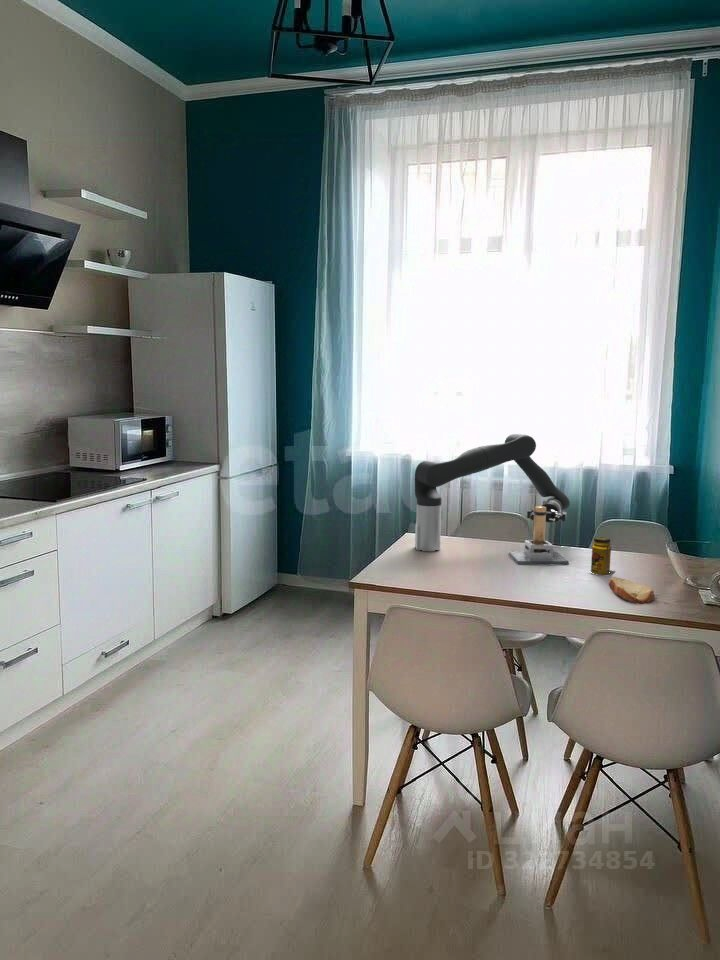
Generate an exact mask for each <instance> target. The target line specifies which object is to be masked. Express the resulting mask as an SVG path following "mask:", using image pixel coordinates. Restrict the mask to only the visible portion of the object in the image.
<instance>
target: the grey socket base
mask: <svg viewBox="0 0 720 960" xmlns="http://www.w3.org/2000/svg"><path fill="white" fill-rule="evenodd" d="M523 548H524V550H522V551H520V550H519V551H518V550H517V551H514V550H512V551H510V550H509V551H508V556H509V557H510V558H511V557H512V558H513V559H514V560H513V559H512V560H513V561H514V562H515V561H516V562H515V563H516V565H550V564H570V563H569V562H570V561H569V560H568V559H567V558H565V557H564V556H563V555H562V554H561V553H560V552H558V551H554V545H553V544H552V543H551V542H549V541H548V540H547V539H545V541H544V544H533V539H525V540H524V547H523ZM534 549H544V552H534Z"/></svg>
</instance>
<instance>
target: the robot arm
mask: <svg viewBox="0 0 720 960" xmlns="http://www.w3.org/2000/svg"><path fill="white" fill-rule="evenodd" d="M536 448H537V443H536V440H535V439H534V438H533V437H532V436H530V435H529V434H521V433H520V434H519V433H513V434H509V435H508V436H507V437H506V438H505V440H504V443H499V444H487V445H482V446H477V447H474V448H471V449H467V450H466V451H464V452H462V453H461V454H460V455H459V456H458V457H456V458H455V459H451V460H447V461H443V462H434V461H430V460H424V461H423V460H422V461H421V462H419V463H418V464H417V465H416V468H415V470H414V471H415V472H414V494H415V498H416V520H415V521H416V522H415V525H414V526H415V529H414V530H415V531H414V532H415V534H414V535H415V536H414V548H415V547H416V548H415V550H416V551H420V550H422V551H421V552H436V551H435V550H438V551H440V550H441V534H442V533H441V531H442V530H441V528H442V497H441V495H440V494H439V493H438V490H437V488H438V487H442V486H443V485H446V484H448V483H450V482H451V481H455V480H457V479H460V478H463V477H467V476H470V475H473V474H477V473H480V472H483V471H485V470H489V469H491V468H494V467H497V466H500V465H503V464H504V463H508V462H511V461H514V462H515V463H516V464H517V466H518V467H519V468H520V469H521V470H522V471H523V473H524V474H525V475H526V477H527V478H528V479H529V480H530V482H531V484H532V485H533V486H534V488H535V490H536V492H537V493H538V495H539V496H540V497H542V498H546V499H544V500H542V505H541V506H544V507H546V511H547V514H546V523H558V522H561V521H562V522H566V520H567V511H565V510H567V509H568V508H569V507H570V504H571V502H570V499H569V497H568V496H567V495H566V493H564V492H563V491H562V490H560V489H559V488H558V487H557V486H556V485H555V484H554V482H553V481H552V478H551V477H550V476H549V475H548V473H547V472H546V470H544V469H543V468H542V467H541V466H540V465H539V464H538V463H537V462H535V461H534V459H532V458H531V456H532V455H533V454H534V452H535V451H536ZM534 510H535V509H533V508H529V510H527V511H526V518H527V519H529V520H531V521H534ZM439 549H440V550H439Z"/></svg>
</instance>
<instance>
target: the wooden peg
mask: <svg viewBox="0 0 720 960" xmlns="http://www.w3.org/2000/svg"><path fill="white" fill-rule="evenodd" d="M533 510H534V520H533V532H532V533H533V534H532V535H533V536H532V537H533V538H532V540H533V544H544V541H545V540H546V537H545V536H546V524H547V522H546V514H547V511H546V507H544V506H542V505H535V506H534V509H533ZM534 552H544V549H534Z"/></svg>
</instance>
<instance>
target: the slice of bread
mask: <svg viewBox="0 0 720 960" xmlns="http://www.w3.org/2000/svg"><path fill="white" fill-rule="evenodd" d="M608 586H610V587H609V588H610V589H611V590H612V592H613V593H614V594H615V595H616V596H618V597H619V598H621V599H624V600H625V601H626V600H627V602H629V601H630V603H632V602H633V603H634V604H637V603H639V604H641V605H645V604H644V603H646V604H650V603H651V602H653V601H654V600H655V599H656V597H655V592H654V589H653V588H652V587H650V586H648V585H646V584H642V583H639V582H637V581H633V580H629V579H625V578H619V577H611V578H610V580H609V581H608Z"/></svg>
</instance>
